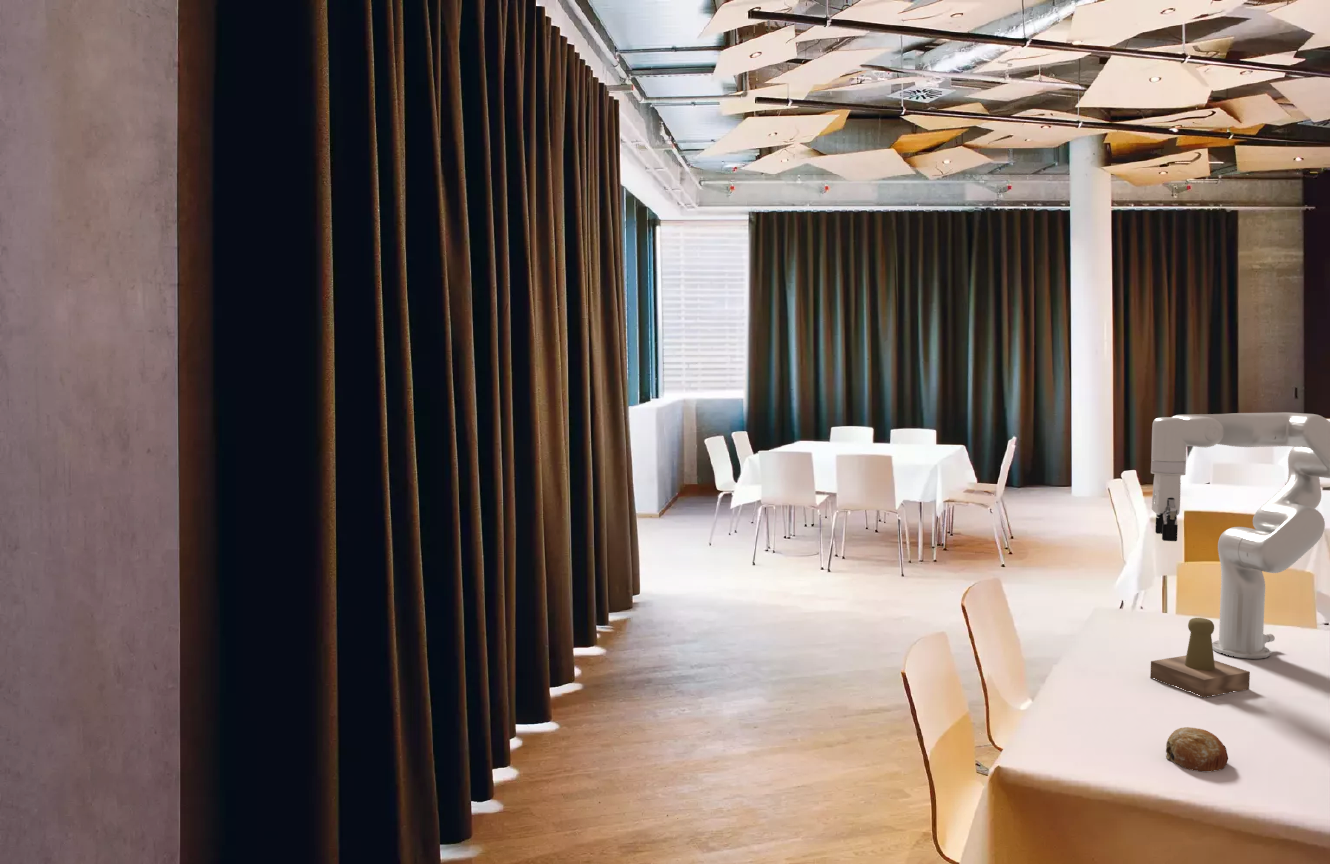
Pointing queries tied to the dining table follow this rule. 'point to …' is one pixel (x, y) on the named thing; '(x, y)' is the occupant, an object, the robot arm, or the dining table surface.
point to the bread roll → (1196, 749)
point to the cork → (1200, 645)
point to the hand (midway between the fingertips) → (1166, 537)
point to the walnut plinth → (1200, 677)
